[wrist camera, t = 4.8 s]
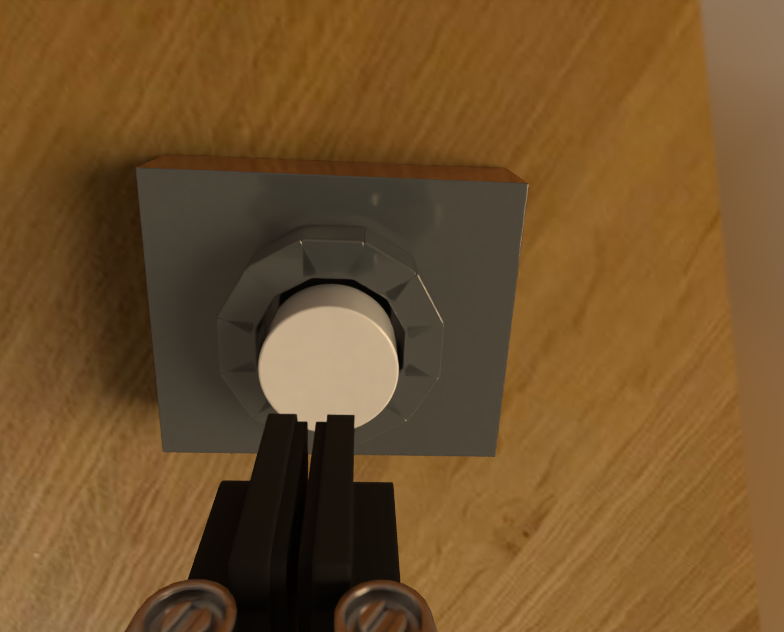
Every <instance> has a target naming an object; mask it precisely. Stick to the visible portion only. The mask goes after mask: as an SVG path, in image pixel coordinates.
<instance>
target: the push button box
mask: <svg viewBox="0 0 784 632" xmlns="http://www.w3.org/2000/svg"><path fill="white" fill-rule="evenodd" d="M136 180H137V190H138V200H139V211H140V221H141V231H142V242H143V252H144V262H145V273H146V283H147V293H148V304H149V314H150V324H151V335H152V345H153V355H154V366H155V376H156V386H157V397H158V407H159V417H160V427H161V438H162V448H163V452H190V453H258V450H259V446H260V442H261V438H262V435H263V431H264V427H265V423H266V420H267V416H268V414H269V413H274V414H279V413H278V412H277V411H276V410H275V409H274V408H273V407H272V406H271V404H270V403H269V402H268V400H267V398H266V397H265V395H264V393H263V390H262V388H261V385H260V381H259V376H258V360H259V354H260V351H261V348H262V345H263V342H264V340H265V337H266V334H267V331H268V328H269V325H270V323H271V320H272V318H273V316H274V314H275V313H276V311H277V310H278V308H279V307H280V306H281V305H282V304H283V303H284V302H285V301H286V300H287V299H288V298H289V297H291V296H292V295H294V294H295V293H297V292H299V291H301V290H303V289H305V288H308V287H312V286H315V285H321V284H340V285H345V286H350V287H352V288H355V289H358V290H360V291H362V292H364V293H366V294H367V295H369V296H370V297H372V298H373V299H374V300H375V301H376V302H378V303H379V304H380V306H381V307H382V308H383V309H384V310H385V312H386V313H387V315H388V317H389V319H390V321H391V323H392V326H393V329H394V333H395V340H396V347H397V355H398V363H399V375H398V382H397V386H396V389H395V391H394V394H393V396H392V398H391V399H390V401H389V403H388V404H387V405H386V407H385V408H384V409H383V410H382V411H381V412H380V413H379V414H378V415H377V416H376V417H374V418H373V419H372V420H370V421H369V422H367V423H365V424H363V425H361V426H359V427H356V428H354V455H406V456H478V457H495V455H496V447H497V439H498V431H499V422H500V414H501V406H502V398H503V390H504V382H505V374H506V365H507V357H508V349H509V341H510V333H511V325H512V317H513V308H514V300H515V292H516V284H517V276H518V268H519V260H520V251H521V243H522V235H523V227H524V219H525V211H526V203H527V194H528V186H529V184H528V183H527V182H526V181H524V180H523V179H521V178H520V177H519V176H517V175H516V174H514V173H513V172H511V171H510V170H508V169H507V168H489V167H465V166H440V165H416V164H392V163H367V162H343V161H319V160H294V159H270V158H246V157H221V156H197V155H172V154H166V155H163V156H161V157H159V158H157V159H154V160H152V161H150V162H148V163H145V164H143V165H141V166H139V167H136ZM314 433H315V431H312V430H308V454H312V448H313V441H314Z"/></svg>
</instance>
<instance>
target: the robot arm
mask: <svg viewBox="0 0 784 632" xmlns="http://www.w3.org/2000/svg"><path fill="white" fill-rule="evenodd" d="M354 424H355V415H331V414H327V421H326V422H316V425H315V433H314V441H313V448H312V456H311V464H310V472H309V479H308V422H307V421H298V419H297V414H274V413H269V414H268V416H267V420H266V423H265V427H264V431H263V435H262V438H261V442H260V446H259V450H258V453H257V457H256V461H255V465H254V468H253V472H252V476H251V480H250V481H224V480H223V481H222V482H221V483H220V486H219V488H218V491H217V494H216V497H215V500H214V503H213V506H212V509H211V512H210V515H209V518H208V521H207V524H206V527H205V530H204V533H203V536H202V539H201V542H200V545H199V548H198V551H197V554H196V557H195V559H194V562H193V565H192V568H191V571H190V574H189V577H188V580H184V581H180V582H176V583H173V584H170V585H168V586H166V587H164V588H162V589H160V590H158V591H157V592H155V593H154V594H153V595H152V596H150V597H149V598H148V599H146V601H145V602H144V603H143V604H142V606H141V607H140V608H139V609H138V610H137V612H136V614H135V615H134V617H133V619H132V620H131V622H130V624H129V625H128V627H127V629H126V630H125V632H437V629H436V626H435V623H434V620H433V616H432V613H431V610H430V608H429V606H428V605H427V603H426V601H425V599H424V598H423V597H422V596H421V595H420V594H419V593H418V592H417V591H416V590H414V589H412V588H411V587H409V586H407V585H405V584H403V583H400V571H399V557H398V543H397V529H396V515H395V501H394V488H393V482H353V468H354Z"/></svg>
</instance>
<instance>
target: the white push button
mask: <svg viewBox="0 0 784 632" xmlns="http://www.w3.org/2000/svg"><path fill="white" fill-rule="evenodd" d="M398 375H399V363H398V355H397V347H396V340H395V333H394V329H393V326H392V323H391V321H390V319H389V317H388V315H387V313H386V312H385V310H384V309H383V308H382V307H381V306H380V304H379V303H378V302H376V301H375V300H374V299H373V298H372V297H370V296H369V295H367V294H366V293H364V292H362V291H360V290H358V289H355V288H352V287H350V286H345V285H340V284H321V285H315V286H312V287H308V288H305V289H303V290H301V291H299V292H297V293H295V294H294V295H292V296H291V297H289V298H288V299H287V300H286V301H285V302H284V303H283V304H282V305H281V306H280V307H279V308H278V310H277V311H276V313H275V314H274V316H273V318H272V320H271V323H270V325H269V328H268V331H267V334H266V337H265V340H264V342H263V345H262V348H261V351H260V354H259V360H258V376H259V381H260V385H261V388H262V390H263V393H264V395H265V397H266V398H267V400H268V402H269V403H270V404H271V406H272V407H273V408H274V409H275V410H276V411H277V412H278V413H279V414H297V419H298V421H307V422H308V430H312V431H315V425H316V422H326V421H327V414H331V415H355V424H354V428H356V427H359V426H361V425H363V424H365V423H367V422H369V421H370V420H372V419H373V418H374V417H376V416H377V415H378V414H379V413H380V412H381V411H382V410H383V409H384V408H385V407H386V405H387V404H388V403H389V401H390V399H391V398H392V396H393V394H394V391H395V389H396V386H397V382H398Z"/></svg>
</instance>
